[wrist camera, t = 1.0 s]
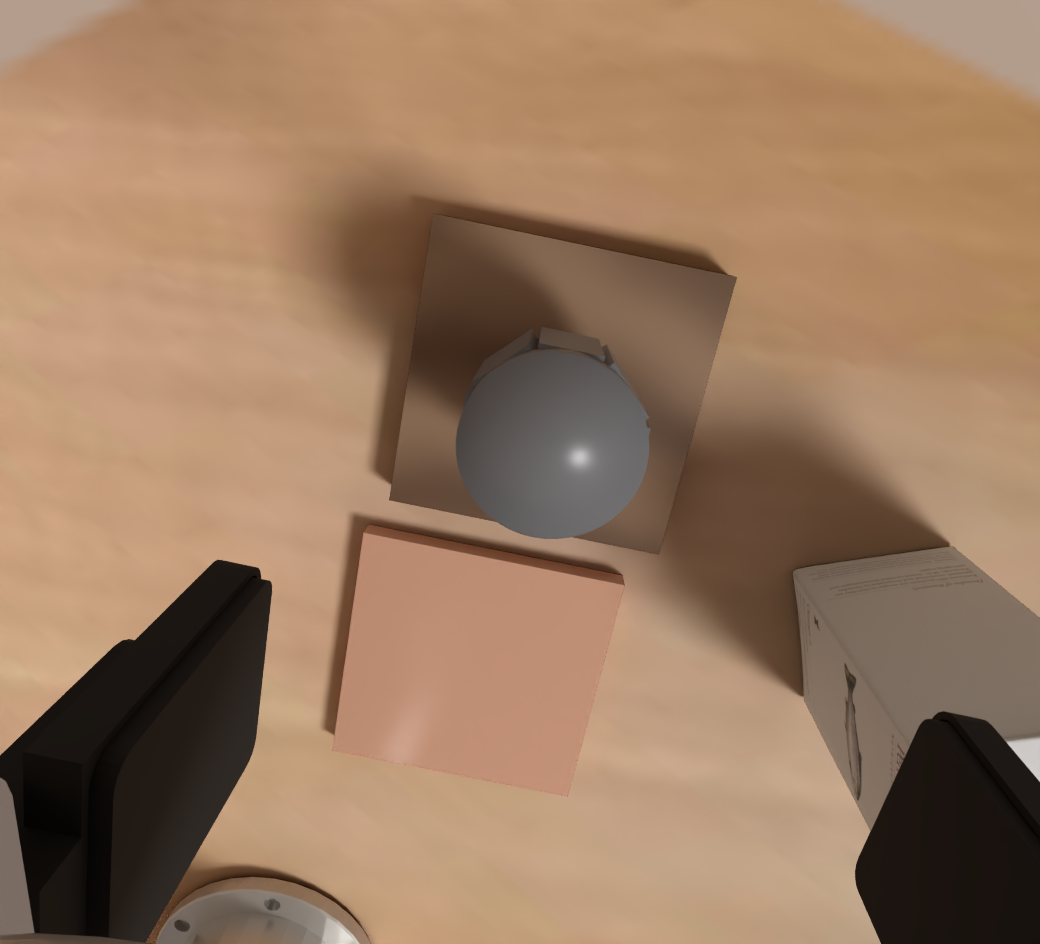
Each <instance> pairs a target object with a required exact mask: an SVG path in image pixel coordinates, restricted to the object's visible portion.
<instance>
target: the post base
mask: <svg viewBox="0 0 1040 944" xmlns="http://www.w3.org/2000/svg"><path fill="white" fill-rule="evenodd" d="M736 278H737V277H734V276H731V275H727V274H722V273H717V272H712V271H708V270H703V269H698V268H693V267H688V266H684V265H679V264H674V263H669V262H664V261H660V260H655V259H650V258H645V257H640V256H636V255H631V254H626V253H621V252H616V251H612V250H607V249H602V248H597V247H592V246H588V245H583V244H578V243H573V242H569V241H564V240H559V239H554V238H549V237H545V236H540V235H535V234H530V233H525V232H521V231H516V230H511V229H506V228H501V227H497V226H492V225H487V224H482V223H477V222H473V221H468V220H463V219H458V218H453V217H449V216H444V215H439V214H433V216H432V223H431V229H430V236H429V243H428V249H427V256H426V262H425V269H424V275H423V282H422V288H421V295H420V302H419V308H418V315H417V321H416V328H415V334H414V341H413V347H412V354H411V361H410V367H409V374H408V380H407V387H406V393H405V400H404V407H403V413H402V420H401V426H400V433H399V439H398V446H397V452H396V459H395V466H394V472H393V479H392V485H391V492H390V498H389V500H391V501H396V502H401V503H406V504H411V505H416V506H421V507H426V508H431V509H436V510H441V511H446V512H451V513H455V514H460V515H465V516H470V517H475V518H480V519H485V520H490V521H495V520H494V519H492V518H491V517H489V516H488V515H487V514H486V513H485V512H484V511H483V510H482V509H481V508H480V507H479V506H478V505H477V503H476V502H475V501H474V500H473V498H472V497H471V495H470V494H469V492H468V490H467V489H466V487H465V484H464V482H463V480H462V478H461V475H460V471H459V468H458V464H457V458H456V453H455V452H456V434H457V428H458V424H459V420H460V417H461V414H462V412H463V408H464V402H465V396H466V391H467V389H468V387H469V385H470V384H471V382H472V380H473V378H474V376H475V375H476V373H477V371H478V369H480V367H481V365H482V363H483V362H484V360H486V359H487V358H489V357H490V356H492V355H493V354H495V353H496V352H498V351H499V350H501V349H502V348H504V347H505V346H507V345H508V344H510V343H511V342H513V341H514V340H516V339H517V338H519V337H520V336H522V335H523V334H525V333H526V332H528V331H529V330H531V329H532V330H533V331H534V333H535V334H536V336H537V337H538V339H539V336H540V332H541V327H545V328H550V329H555V330H560V331H564V332H569V333H574V334H579V335H584V336H589V337H594V338H598V339H599V341H600V344H601V347H603V346H604V345H606V344H607V346H608V347H609V349H610V350H611V352H612V354H613V355H614V357H615V358H616V360H617V361H618V363H619V365H620V366H621V368H622V369H623V371H624V373H625V374H626V376H627V377H628V379H629V381H630V382H631V384H632V385H633V387H634V388H635V390H636V392H637V394H638V396H639V398H640V400H641V402H642V404H643V406H644V408H645V410H646V412H647V414H648V416H649V418H648V419H647V421H648V423H649V426H650V428H651V430H650V434H649V458H648V463H647V468H646V471H645V474H644V477H643V480H642V482H641V484H640V486H639V488H638V490H637V492H636V494H635V495H634V497H633V498H632V500H631V501H630V502H629V503H628V504H627V506H626V507H625V508H624V509H623V510H622V511H621V512H620V513H619V514H618V515H616V516H615V517H614V518H613V519H612V520H610V521H609V522H607V523H606V524H604V525H603V526H601V527H599V528H597V529H595V530H593V531H590V532H587V533H585V534H582V535H578V536H574V538H579V539H584V540H589V541H594V542H599V543H604V544H609V545H614V546H619V547H624V548H629V549H634V550H639V551H644V552H649V553H654V554H659V553H660V549H661V545H662V542H663V538H664V535H665V531H666V528H667V524H668V521H669V517H670V513H671V510H672V506H673V503H674V499H675V496H676V492H677V488H678V485H679V481H680V478H681V474H682V471H683V467H684V464H685V460H686V456H687V453H688V449H689V446H690V442H691V439H692V435H693V432H694V428H695V424H696V421H697V417H698V414H699V410H700V407H701V403H702V399H703V396H704V392H705V389H706V385H707V382H708V378H709V375H710V371H711V367H712V364H713V360H714V357H715V353H716V350H717V346H718V343H719V339H720V335H721V332H722V328H723V325H724V321H725V318H726V314H727V310H728V307H729V303H730V300H731V296H732V293H733V289H734V286H735V282H736ZM495 522H496V521H495Z"/></svg>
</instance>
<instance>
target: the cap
mask: <svg viewBox="0 0 1040 944" xmlns="http://www.w3.org/2000/svg"><path fill="white" fill-rule="evenodd" d="M648 418H649V416H648V414H647V412H646V410H645V408H644V406H643V404H642V402H641V400H640V398H639V396H638V394H637V392H636V390H635V388H634V387H633V385H632V384H631V382H630V381H629V379H628V377H627V376H626V374H625V373H624V371H623V369H622V368H621V366H620V365H619V363H618V361H617V360H616V358H615V357H614V355H613V354H612V352H611V350H610V349H609V347H608V346H607V344H606V345H604V346H603V347H601V344H600V341H599V339H598V338H594V337H589V336H584V335H579V334H574V333H569V332H564V331H560V330H555V329H550V328H545V327H541V332H540V336H539V339H538V337H537V336H536V334H535V333H534V331H533V330H532V329H531V330H529V331H528V332H526V333H525V334H523V335H522V336H520V337H519V338H517V339H516V340H514V341H513V342H511V343H510V344H508V345H507V346H505V347H504V348H502V349H501V350H499V351H498V352H496V353H495V354H493V355H492V356H490V357H489V358H487V359H486V360H484V362H483V363H482V365H481V367H480V369H478V371H477V373H476V375H475V376H474V378H473V380H472V382H471V384H470V385H469V387H468V389H467V391H466V396H465V402H464V408H463V412H462V414H461V417H460V420H459V424H458V428H457V434H456V452H455V453H456V458H457V464H458V468H459V471H460V475H461V478H462V480H463V482H464V484H465V487H466V489H467V490H468V492H469V494H470V495H471V497H472V498H473V500H474V501H475V502H476V503H477V505H478V506H479V507H480V508H481V509H482V510H483V511H484V512H485V513H486V514H487V515H488V516H489V517H491V518H492V519H494V520H495V521H496V522H498V523H499V524H501V525H503V526H504V527H506V528H508V529H510V530H513V531H515V532H518V533H520V534H523V535H527V536H531V537H537V538H544V539H560V538H569V537H574V536H578V535H582V534H585V533H587V532H590V531H593V530H595V529H597V528H599V527H601V526H603V525H604V524H606V523H607V522H609V521H610V520H612V519H613V518H614V517H615V516H616V515H618V514H619V513H620V512H621V511H622V510H623V509H624V508H625V507H626V506H627V504H628V503H629V502H630V501H631V500H632V498H633V497H634V495H635V494H636V492H637V490H638V488H639V486H640V484H641V482H642V480H643V477H644V474H645V471H646V468H647V463H648V458H649V434H650V430H651V428H650V426H649V423H648V421H647V419H648Z"/></svg>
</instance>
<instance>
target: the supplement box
mask: <svg viewBox="0 0 1040 944" xmlns="http://www.w3.org/2000/svg"><path fill="white" fill-rule="evenodd" d="M793 578H794V585H795V592H796V599H797V607H798V616H799V626H800V639H801V652H802V667H803V687H804V701H805V703H806V705H807V707H808V709H809V711H810V713H811V715H812V717H813V719H814V721H815V723H816V725H817V727H818V729H819V731H820V733H821V735H822V737H823V739H824V741H825V743H826V745H827V747H828V749H829V751H830V753H831V755H832V757H833V759H834V761H835V763H836V765H837V767H838V769H839V770H840V772H841V774H842V776H843V778H844V780H845V782H846V784H847V786H848V788H849V790H850V792H851V794H852V796H853V798H854V800H855V802H856V804H857V806H858V808H859V810H860V811H861V813H862V815H863V817H864V819H865V821H866V823H867V825H868V827H869V829H870V831H871V830H872V827H873V825H874V823H875V821H876V819H877V817H878V814H879V812H880V810H881V808H882V806H883V803H884V801H885V799H886V797H887V795H888V793H889V790H890V788H891V786H892V784H893V782H894V779H895V777H896V775H897V773H898V771H899V769H900V766H901V764H902V762H903V760H904V758H905V755H906V753H907V751H908V749H909V747H910V745H911V742H912V740H913V738H914V736H915V734H916V731H917V729H918V727H919V726H920V724H921V722H923V721H924V720H925V719H932V718H933V716H935V715H936V714H937V713H938V712H942V711H946V712H950V713H955V714H960V715H965V716H969V717H974V718H979V719H983V720H986V721H988V722H989V723H990V724H991V725H992V726H993V727H994V728H995V729H996V731H997V732H998V733H999V734H1000V735H1001V736H1002V738H1003V739H1004V740H1005V741H1006V742H1007V744H1008V745H1009V746H1010V747H1011V748H1012V749H1013V751H1014V752H1015V753H1016V754H1017V755H1018V757H1019V758H1020V759H1021V760H1022V761H1023V762H1024V764H1025V765H1026V766H1027V767H1028V768H1029V770H1030V771H1031V772H1032V773H1033V774H1034V775H1035V777H1036V778H1037V779H1038V780H1039V781H1040V618H1039V617H1038V616H1037V615H1036V614H1035V613H1034V612H1032V611H1031V610H1030V609H1029V608H1027V607H1026V606H1025V605H1024V604H1022V603H1021V602H1020V601H1019V600H1018V599H1016V598H1015V597H1014V596H1013V595H1011V594H1010V593H1009V592H1008V591H1007V590H1005V589H1004V588H1003V587H1002V586H1000V585H999V584H998V583H997V582H996V581H994V580H993V579H992V578H991V577H990V576H988V575H987V574H986V573H985V572H983V571H982V570H981V569H980V568H979V567H977V566H976V565H975V564H974V563H973V562H971V561H970V560H969V559H968V558H966V557H965V556H964V555H963V554H962V553H960V552H959V551H958V550H957V549H956V548H955V547H953V546H950V547H942V548H935V549H928V550H921V551H914V552H907V553H901V554H892V555H886V556H879V557H872V558H864V559H858V560H851V561H844V562H837V563H831V564H825V565H816V566H810V567H805V568H800V569H796V570H794V571H793Z"/></svg>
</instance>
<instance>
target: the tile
mask: <svg viewBox="0 0 1040 944" xmlns="http://www.w3.org/2000/svg"><path fill="white" fill-rule="evenodd" d="M624 586H625V584H624V579H623V576H622V575H617V574H613V573H608V572H603V571H598V570H593V569H588V568H583V567H578V566H573V565H568V564H563V563H558V562H553V561H548V560H543V559H538V558H533V557H528V556H523V555H518V554H513V553H508V552H503V551H498V550H493V549H488V548H483V547H478V546H473V545H468V544H463V543H458V542H453V541H449V540H444V539H439V538H434V537H429V536H424V535H419V534H414V533H409V532H404V531H399V530H394V529H389V528H384V527H379V526H374V525H368V526H367V528H366V530H365V531H364V533H363V539H362V546H361V553H360V560H359V567H358V574H357V581H356V588H355V595H354V602H353V609H352V616H351V623H350V630H349V637H348V644H347V651H346V658H345V665H344V672H343V679H342V686H341V693H340V700H339V707H338V714H337V721H336V728H335V735H334V742H333V749H332V751H337V752H342V753H347V754H352V755H357V756H363V757H368V758H373V759H378V760H383V761H388V762H393V763H398V764H403V765H408V766H414V767H419V768H424V769H429V770H434V771H439V772H444V773H449V774H454V775H459V776H465V777H470V778H475V779H480V780H485V781H490V782H495V783H500V784H505V785H510V786H516V787H521V788H526V789H531V790H536V791H541V792H546V793H551V794H556V795H561V796H567V797H568V794H569V791H570V787H571V783H572V780H573V776H574V772H575V768H576V765H577V761H578V757H579V754H580V750H581V746H582V742H583V739H584V735H585V731H586V727H587V724H588V720H589V716H590V713H591V709H592V705H593V701H594V698H595V694H596V690H597V687H598V683H599V679H600V675H601V672H602V668H603V664H604V661H605V657H606V653H607V649H608V646H609V642H610V638H611V635H612V631H613V627H614V623H615V620H616V616H617V612H618V608H619V605H620V601H621V597H622V594H623V590H624Z"/></svg>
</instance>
